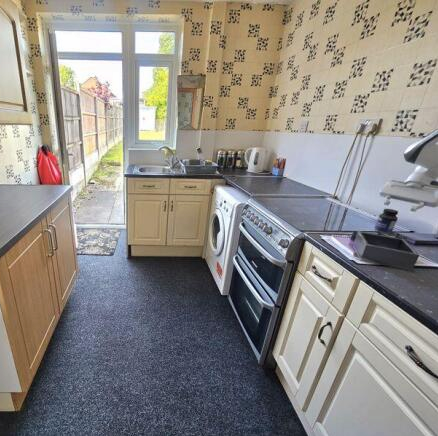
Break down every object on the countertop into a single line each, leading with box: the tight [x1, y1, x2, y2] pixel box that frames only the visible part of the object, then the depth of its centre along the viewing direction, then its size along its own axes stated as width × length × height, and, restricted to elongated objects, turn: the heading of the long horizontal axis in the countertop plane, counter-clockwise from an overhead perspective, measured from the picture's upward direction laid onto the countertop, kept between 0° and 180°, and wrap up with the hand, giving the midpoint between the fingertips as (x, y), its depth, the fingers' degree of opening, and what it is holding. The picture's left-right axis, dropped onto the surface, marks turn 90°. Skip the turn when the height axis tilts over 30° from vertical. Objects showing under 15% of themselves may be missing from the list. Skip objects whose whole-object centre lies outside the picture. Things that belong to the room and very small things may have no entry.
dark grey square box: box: [352, 230, 420, 272], centre depth 89 cm, size 14×14×7 cm
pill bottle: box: [373, 208, 399, 235], centre depth 111 cm, size 6×6×11 cm
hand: (398, 207), depth 111 cm, fingers open, 8 cm apart
